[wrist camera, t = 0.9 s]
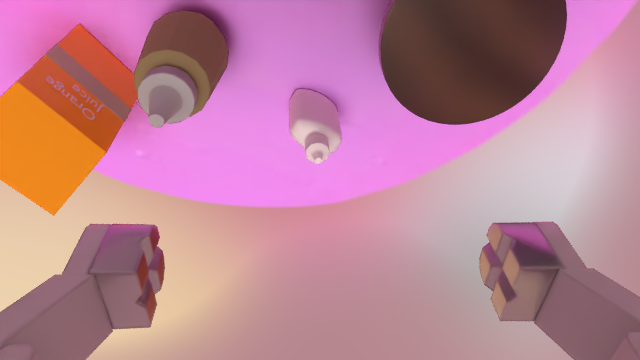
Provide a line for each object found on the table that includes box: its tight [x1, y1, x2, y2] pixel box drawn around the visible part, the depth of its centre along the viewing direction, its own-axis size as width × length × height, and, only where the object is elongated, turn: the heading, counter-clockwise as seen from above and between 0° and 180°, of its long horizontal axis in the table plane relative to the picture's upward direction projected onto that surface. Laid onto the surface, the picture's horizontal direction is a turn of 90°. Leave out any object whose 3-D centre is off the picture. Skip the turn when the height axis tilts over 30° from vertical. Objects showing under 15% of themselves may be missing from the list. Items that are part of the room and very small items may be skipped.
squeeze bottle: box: [134, 11, 229, 128], centre depth 44 cm, size 8×8×18 cm
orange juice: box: [0, 24, 138, 215], centre depth 45 cm, size 8×9×20 cm
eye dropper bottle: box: [289, 89, 342, 164], centre depth 52 cm, size 4×6×12 cm
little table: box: [379, 0, 567, 125], centre depth 46 cm, size 16×16×11 cm
